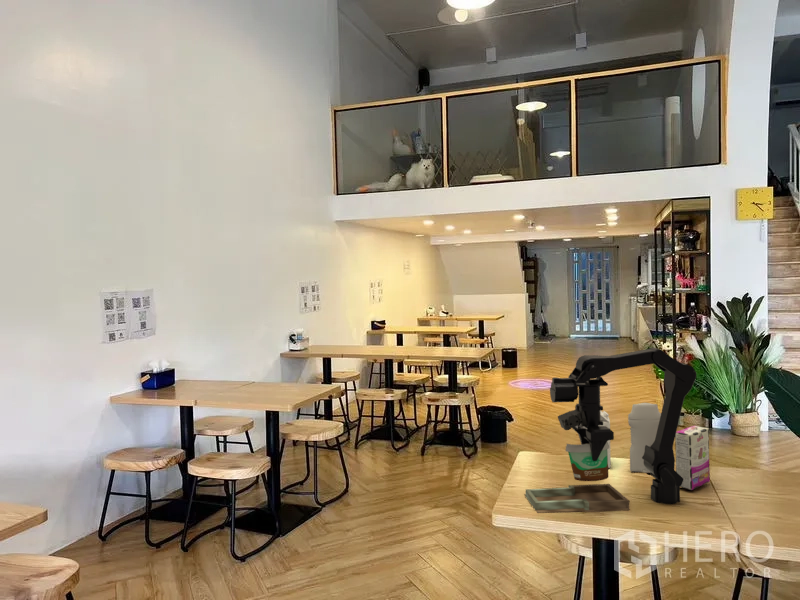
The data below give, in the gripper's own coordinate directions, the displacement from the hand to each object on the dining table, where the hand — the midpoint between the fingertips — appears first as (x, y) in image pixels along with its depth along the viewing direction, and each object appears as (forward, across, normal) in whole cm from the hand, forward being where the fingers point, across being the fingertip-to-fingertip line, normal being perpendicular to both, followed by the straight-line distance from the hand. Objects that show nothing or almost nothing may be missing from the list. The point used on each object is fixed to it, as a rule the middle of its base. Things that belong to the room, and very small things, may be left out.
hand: (590, 457), depth 160 cm
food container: (+6, +1, +1) cm, 6 cm away
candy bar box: (+13, -10, +35) cm, 38 cm away
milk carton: (+13, -31, +15) cm, 37 cm away
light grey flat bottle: (+13, -23, +27) cm, 37 cm away
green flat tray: (+12, 0, -3) cm, 13 cm away
